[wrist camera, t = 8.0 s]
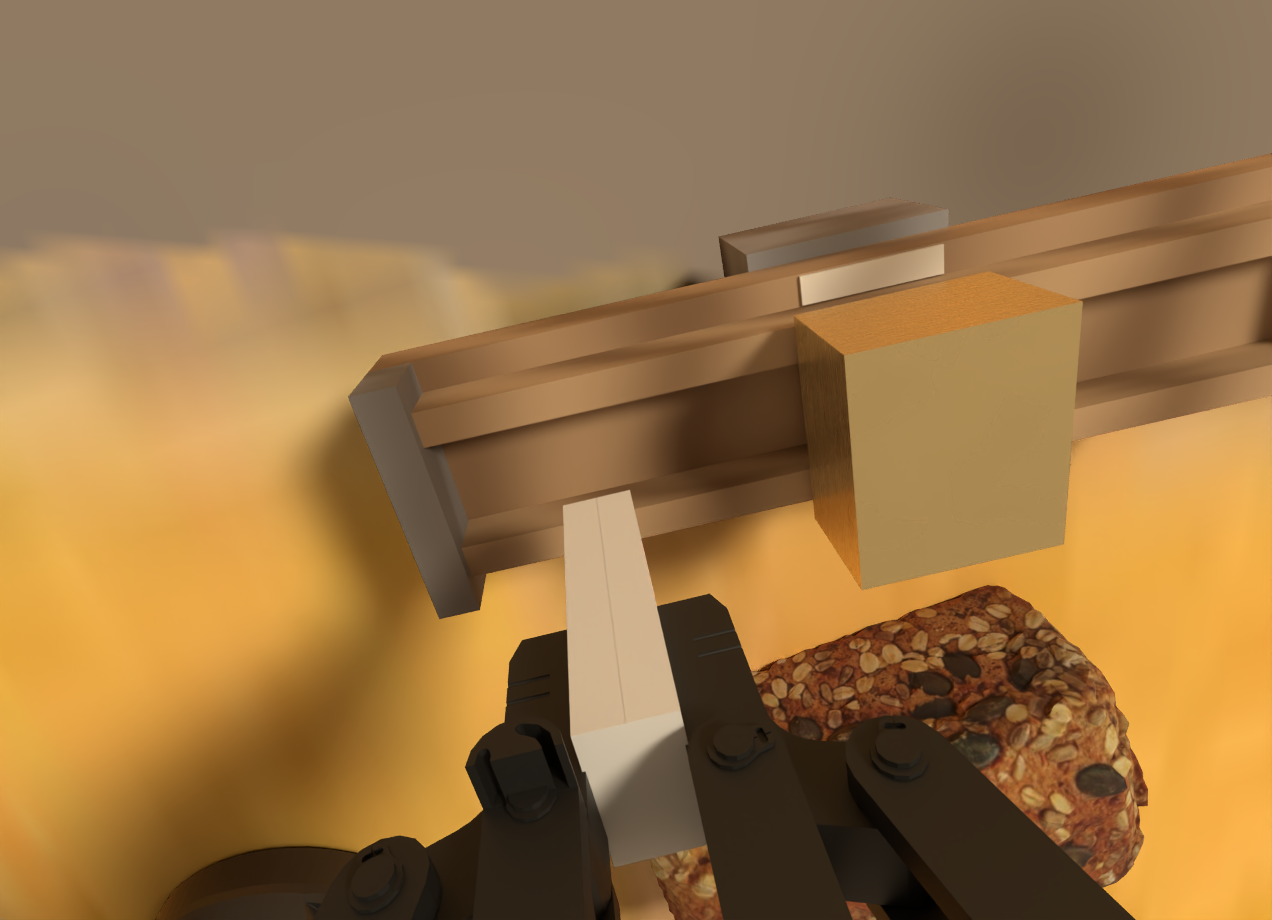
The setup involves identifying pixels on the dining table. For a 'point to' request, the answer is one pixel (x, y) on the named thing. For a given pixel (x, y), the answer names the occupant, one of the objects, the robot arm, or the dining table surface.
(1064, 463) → the block
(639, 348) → the beam
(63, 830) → the dining table surface
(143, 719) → the dining table surface
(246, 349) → the dining table surface
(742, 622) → the dining table surface
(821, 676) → the bread
